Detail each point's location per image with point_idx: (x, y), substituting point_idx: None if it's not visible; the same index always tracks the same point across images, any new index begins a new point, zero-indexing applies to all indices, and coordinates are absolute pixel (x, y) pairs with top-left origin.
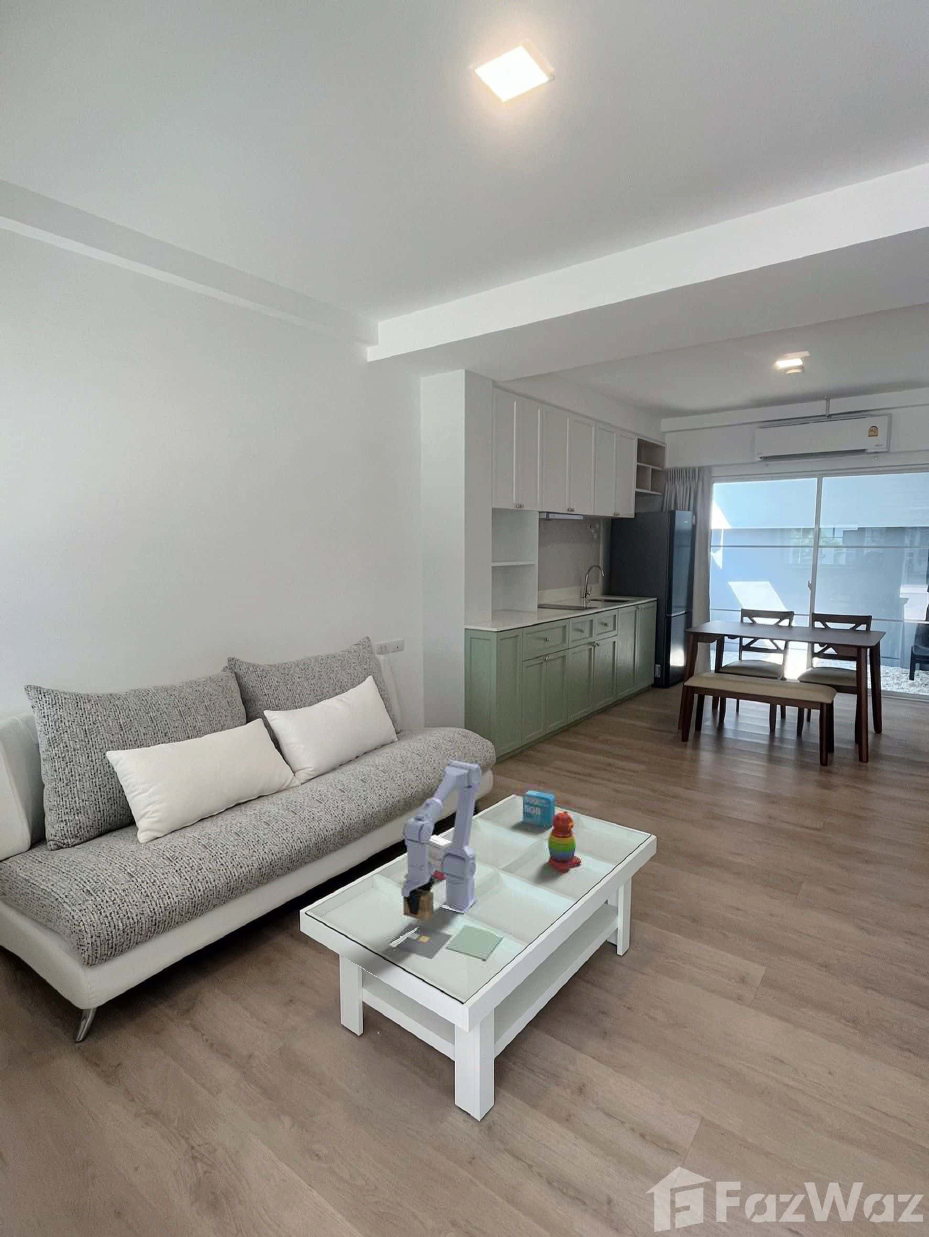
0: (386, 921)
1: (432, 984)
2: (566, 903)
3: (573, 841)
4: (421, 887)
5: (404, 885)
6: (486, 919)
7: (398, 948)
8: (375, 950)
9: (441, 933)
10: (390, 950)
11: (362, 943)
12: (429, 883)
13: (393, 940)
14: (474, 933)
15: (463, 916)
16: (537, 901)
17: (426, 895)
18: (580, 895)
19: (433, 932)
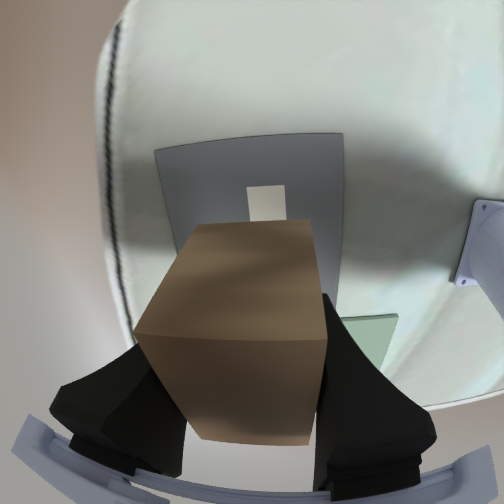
0: (301, 29)
1: (136, 340)
2: (481, 390)
3: None
4: (322, 419)
5: (38, 473)
6: (436, 335)
7: (167, 199)
8: (115, 135)
9: (332, 280)
10: (146, 179)
11: (118, 66)
12: (314, 487)
13: (193, 149)
14: (363, 349)
15: (444, 285)
16: (493, 364)
17: (251, 437)
18: (497, 389)
19: (326, 255)
